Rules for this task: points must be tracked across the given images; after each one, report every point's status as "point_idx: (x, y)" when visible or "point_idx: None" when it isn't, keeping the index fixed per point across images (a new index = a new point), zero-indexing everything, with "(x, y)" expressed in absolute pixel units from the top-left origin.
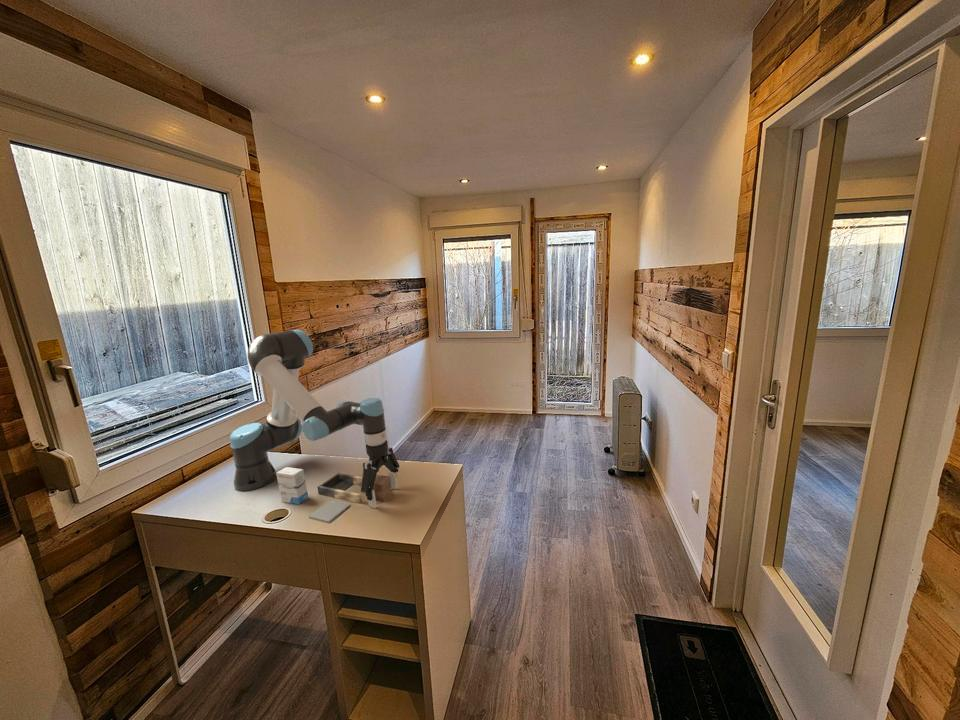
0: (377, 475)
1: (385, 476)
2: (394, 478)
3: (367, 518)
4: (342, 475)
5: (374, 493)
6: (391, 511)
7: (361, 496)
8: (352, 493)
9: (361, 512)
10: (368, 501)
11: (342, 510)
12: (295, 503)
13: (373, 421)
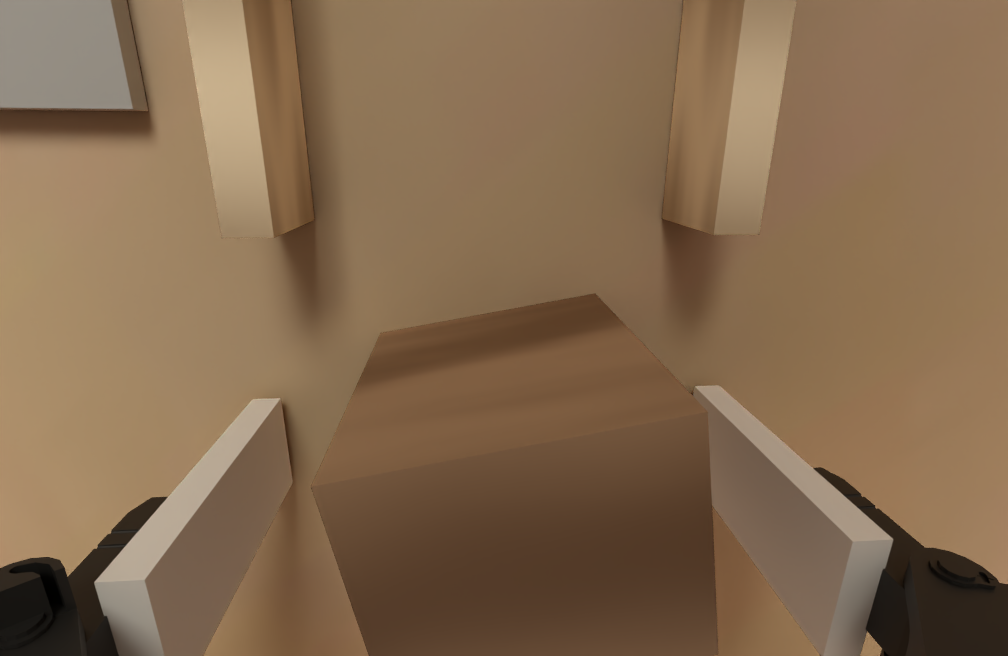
0: (693, 421)
1: (685, 598)
2: (765, 566)
3: (89, 511)
4: None
5: (203, 642)
6: (311, 640)
7: (288, 230)
8: (216, 37)
9: (131, 374)
10: (219, 442)
11: None
12: None
13: None
